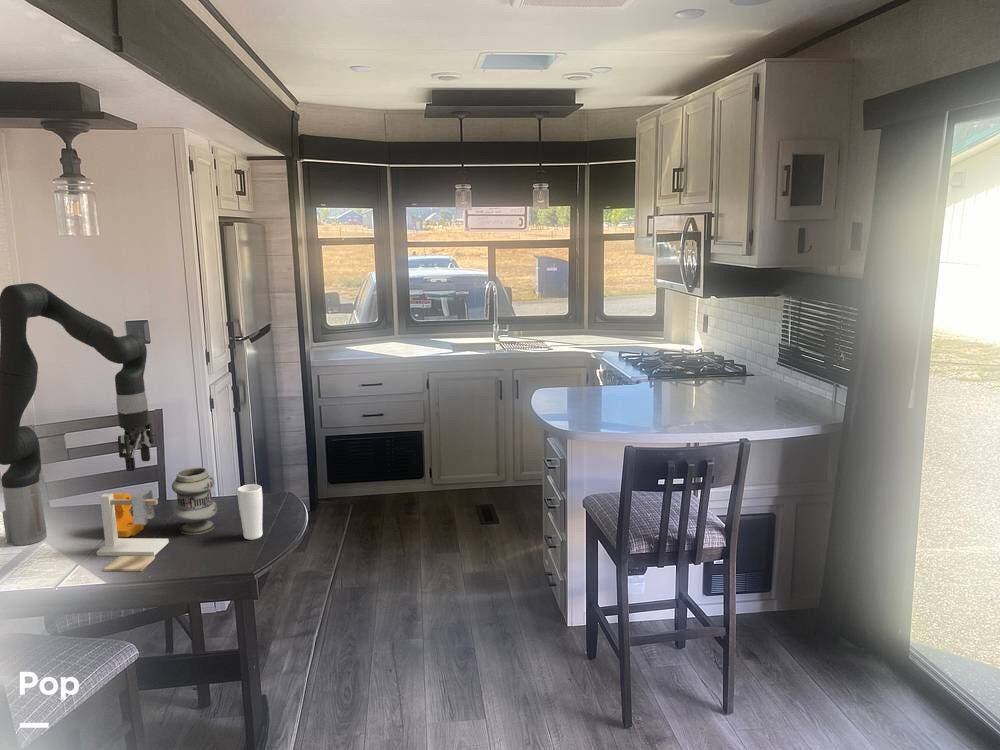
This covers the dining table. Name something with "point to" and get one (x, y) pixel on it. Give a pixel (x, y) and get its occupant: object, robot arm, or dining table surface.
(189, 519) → the apothecary jar
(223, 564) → the dining table surface
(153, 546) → the stand
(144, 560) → the cork mat
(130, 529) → the bracket
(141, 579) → the dining table surface
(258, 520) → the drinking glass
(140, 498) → the c link
